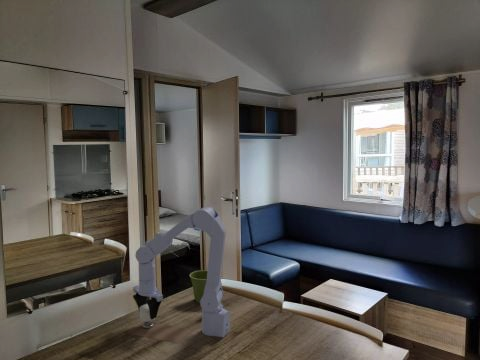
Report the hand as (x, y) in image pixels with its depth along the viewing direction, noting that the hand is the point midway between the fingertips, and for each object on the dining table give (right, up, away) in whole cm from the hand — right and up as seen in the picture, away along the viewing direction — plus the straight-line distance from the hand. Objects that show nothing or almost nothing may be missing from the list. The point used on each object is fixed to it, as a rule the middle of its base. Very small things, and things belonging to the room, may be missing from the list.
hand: (148, 315), depth 133 cm
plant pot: (+17, -3, +26) cm, 31 cm away
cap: (0, -1, 0) cm, 1 cm away
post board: (+5, -5, -4) cm, 8 cm away
